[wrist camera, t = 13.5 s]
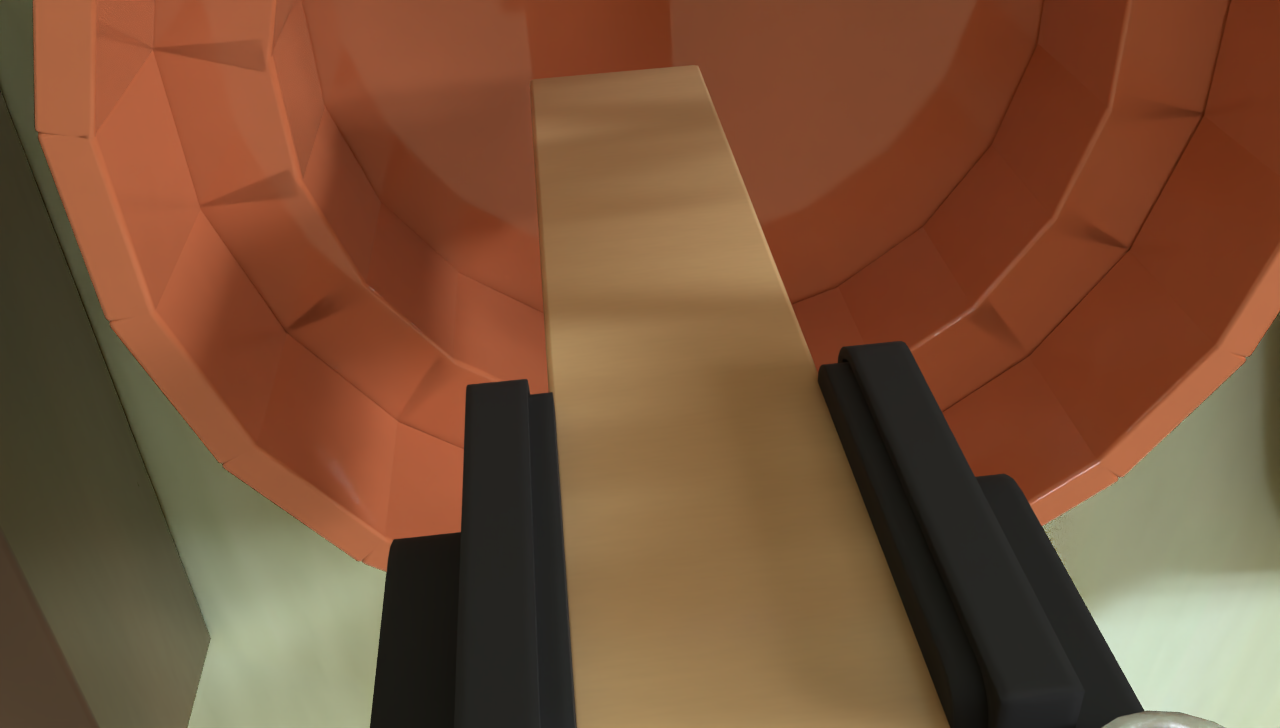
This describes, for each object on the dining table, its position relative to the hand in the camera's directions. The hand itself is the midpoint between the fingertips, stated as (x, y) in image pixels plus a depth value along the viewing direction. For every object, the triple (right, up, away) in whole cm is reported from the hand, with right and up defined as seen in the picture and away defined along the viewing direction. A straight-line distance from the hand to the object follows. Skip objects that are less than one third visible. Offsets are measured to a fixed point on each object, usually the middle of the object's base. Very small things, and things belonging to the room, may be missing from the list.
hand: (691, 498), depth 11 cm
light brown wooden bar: (-1, +4, +6) cm, 8 cm away
